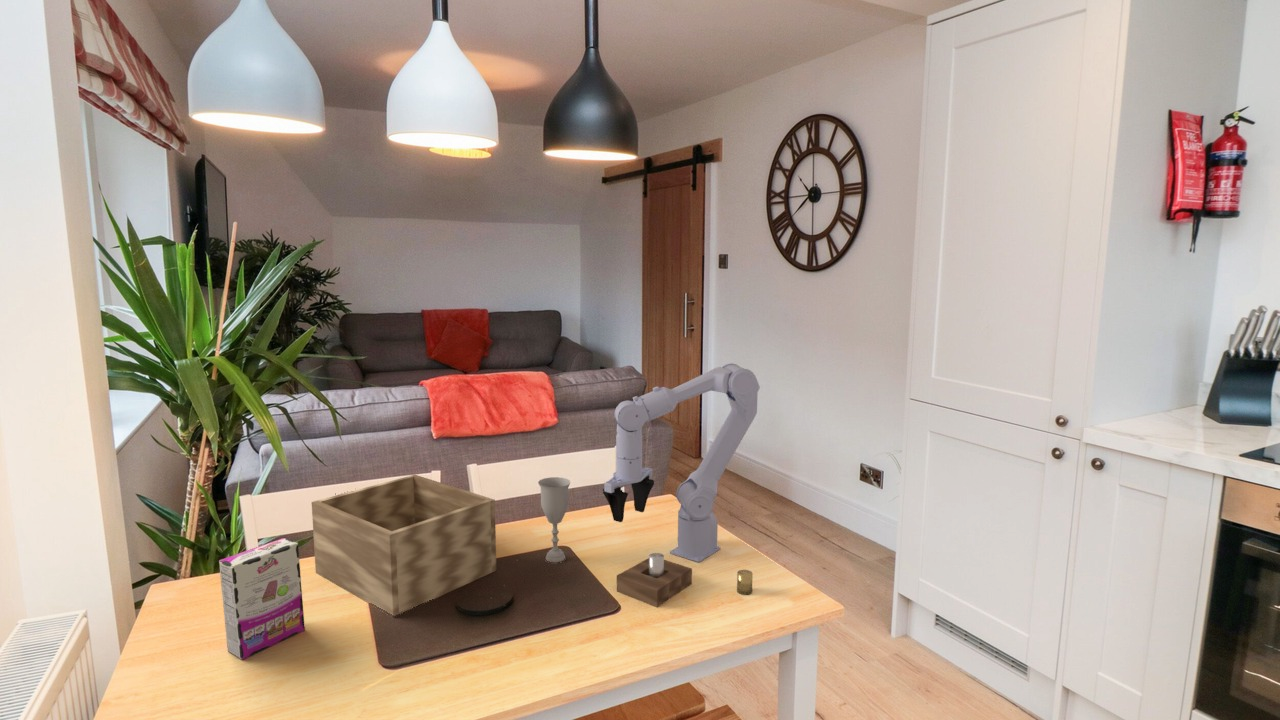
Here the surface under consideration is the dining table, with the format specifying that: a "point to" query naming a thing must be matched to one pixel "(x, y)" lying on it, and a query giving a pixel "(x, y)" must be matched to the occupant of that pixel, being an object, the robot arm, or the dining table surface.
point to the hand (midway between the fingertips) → (629, 515)
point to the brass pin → (744, 582)
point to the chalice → (554, 509)
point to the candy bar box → (261, 597)
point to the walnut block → (654, 582)
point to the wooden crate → (404, 541)
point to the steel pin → (656, 565)
